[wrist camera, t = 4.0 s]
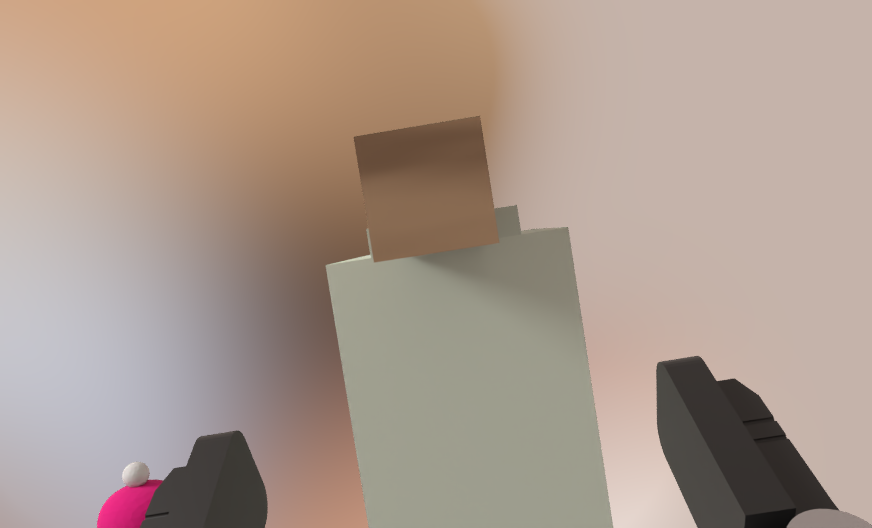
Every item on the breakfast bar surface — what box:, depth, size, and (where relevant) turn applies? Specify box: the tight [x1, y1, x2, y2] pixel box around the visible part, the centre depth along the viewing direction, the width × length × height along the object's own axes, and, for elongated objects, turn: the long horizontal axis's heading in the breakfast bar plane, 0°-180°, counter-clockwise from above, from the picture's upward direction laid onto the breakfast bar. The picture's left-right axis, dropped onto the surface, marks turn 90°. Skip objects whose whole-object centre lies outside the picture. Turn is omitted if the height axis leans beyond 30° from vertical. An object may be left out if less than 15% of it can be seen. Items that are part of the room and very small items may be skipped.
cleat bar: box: [354, 116, 499, 263], centre depth 30 cm, size 23×4×4 cm, turn 178°
